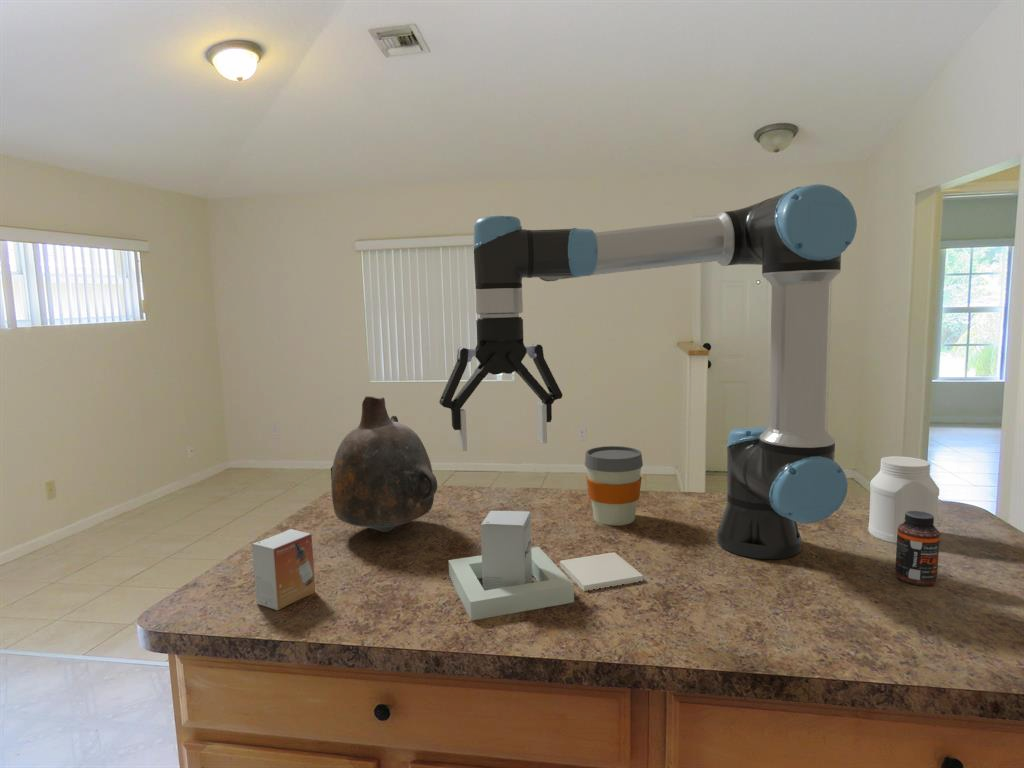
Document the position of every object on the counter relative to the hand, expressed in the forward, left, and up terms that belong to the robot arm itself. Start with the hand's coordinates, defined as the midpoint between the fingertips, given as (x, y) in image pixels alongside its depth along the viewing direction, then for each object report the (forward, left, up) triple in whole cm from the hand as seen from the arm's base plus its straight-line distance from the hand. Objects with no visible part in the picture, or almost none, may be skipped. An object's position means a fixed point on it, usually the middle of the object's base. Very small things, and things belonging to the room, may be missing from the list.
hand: (503, 445), depth 104 cm
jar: (-80, +5, -25) cm, 84 cm away
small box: (+36, -10, -25) cm, 45 cm away
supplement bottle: (-65, +21, -25) cm, 73 cm away
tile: (-17, 0, -25) cm, 30 cm away
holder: (0, 0, -25) cm, 25 cm away
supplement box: (0, 0, -25) cm, 25 cm away
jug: (+17, -36, -25) cm, 47 cm away
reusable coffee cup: (-32, -25, -25) cm, 48 cm away
